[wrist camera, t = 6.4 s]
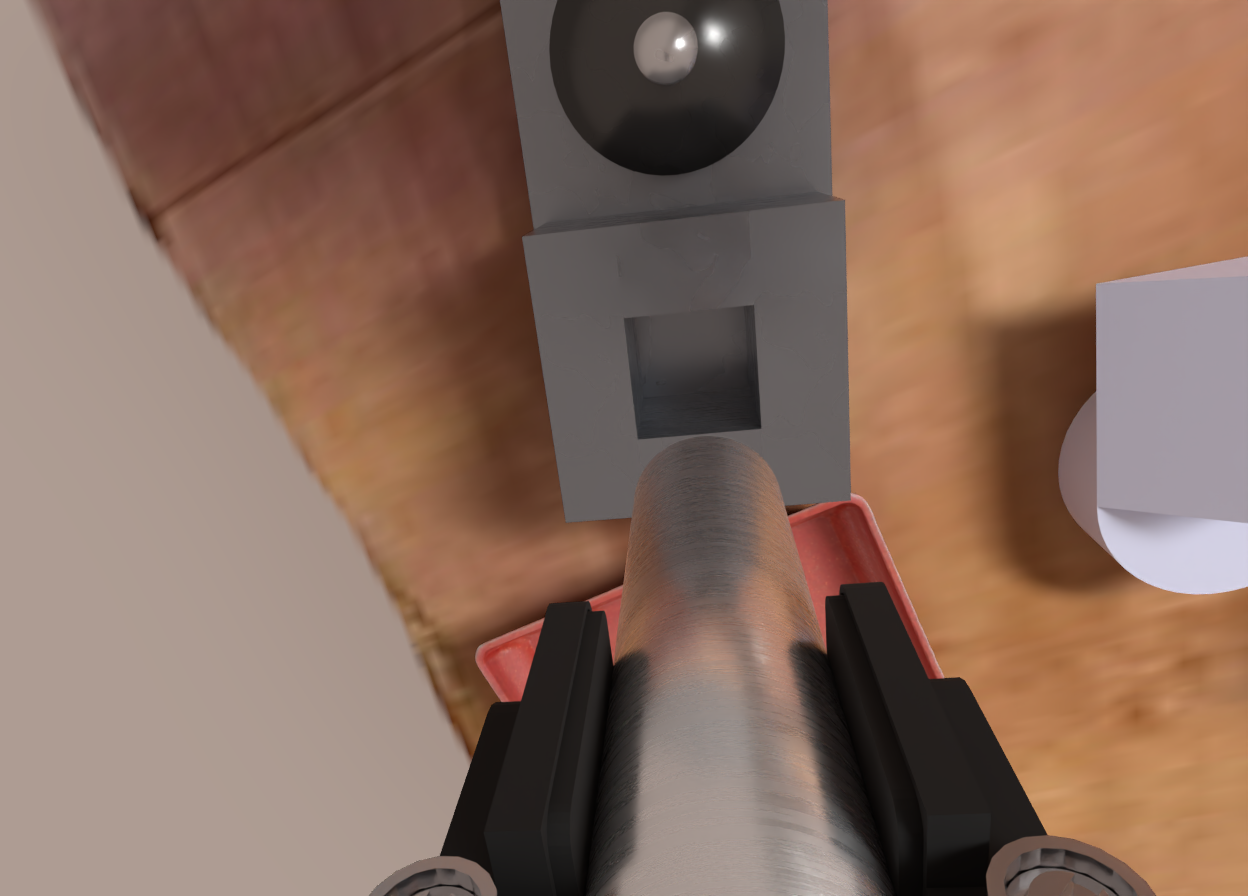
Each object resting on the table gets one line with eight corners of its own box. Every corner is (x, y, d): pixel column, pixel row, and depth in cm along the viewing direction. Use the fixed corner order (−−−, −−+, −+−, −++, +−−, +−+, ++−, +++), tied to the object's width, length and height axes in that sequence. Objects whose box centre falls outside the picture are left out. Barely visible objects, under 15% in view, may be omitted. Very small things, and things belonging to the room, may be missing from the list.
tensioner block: (499, -44, 28) (453, -93, 22) (818, -91, 27) (857, -156, 21) (573, 460, 35) (551, 523, 29) (833, 438, 34) (865, 499, 28)
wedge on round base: (1053, 269, 31) (1059, 567, 35) (1149, 301, 24) (1142, 659, 29) (1309, 223, 30) (1283, 536, 34) (1479, 242, 23) (1421, 624, 28)
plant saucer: (982, 766, 39) (1008, 819, 36) (651, 875, 43) (649, 931, 40) (844, 455, 34) (861, 486, 31) (482, 609, 38) (465, 650, 35)
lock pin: (620, 438, 16) (426, 1417, 4) (782, 424, 16) (1154, 1449, 3) (638, 578, 17) (530, 1694, 5) (790, 568, 17) (1090, 1732, 5)
